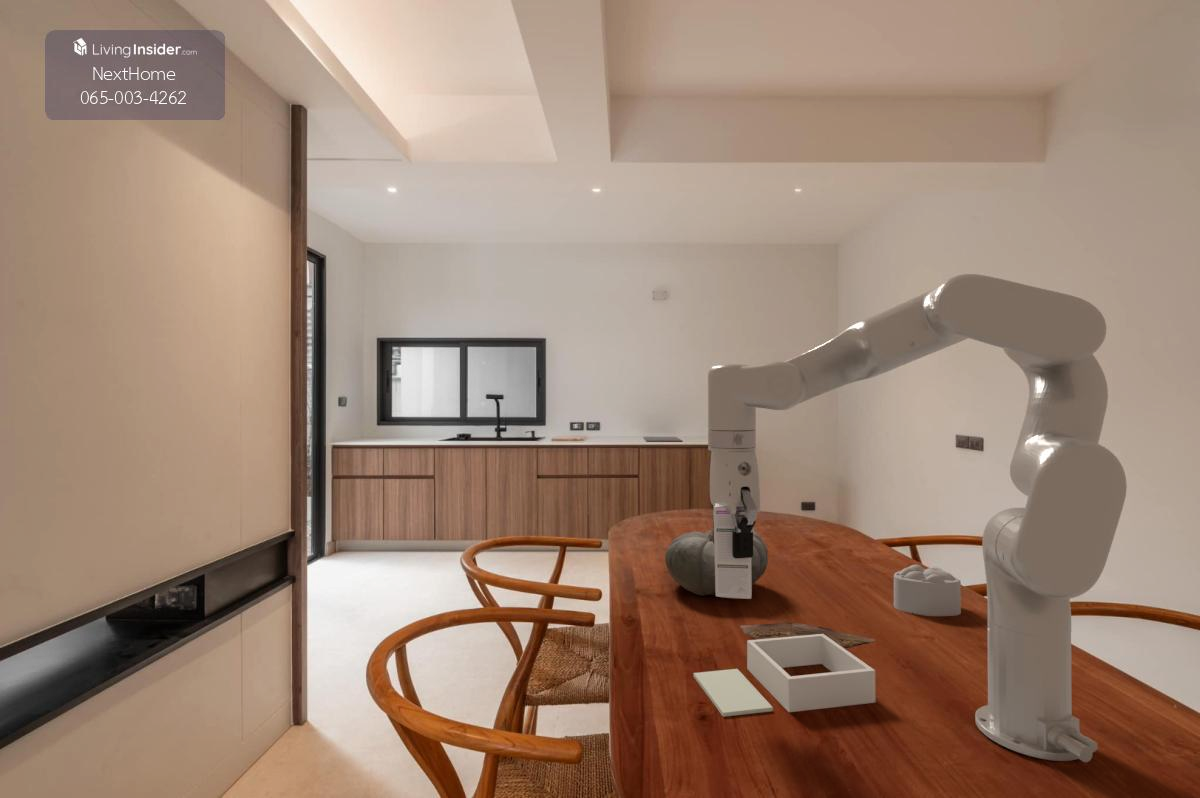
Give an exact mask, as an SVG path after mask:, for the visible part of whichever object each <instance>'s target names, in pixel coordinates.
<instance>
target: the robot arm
mask: <svg viewBox="0 0 1200 798" xmlns="http://www.w3.org/2000/svg"><path fill="white" fill-rule="evenodd" d="M1106 335H1107V323H1106V319H1105V317H1104V316H1103V313H1102V312H1101V311H1100V309H1099V308H1098V307H1096V306H1095V305H1093V303H1090V302H1089V301H1087V300H1085V299H1083V298H1080V297H1078V296H1074V295H1070V294H1067V293H1063V292H1058V291H1055V290H1050V289H1047V288H1041V287H1036V286H1032V285H1028V284H1023V283H1020V282H1015V281H1010V280H1007V279H1003V278H998V277H994V276H989V275H984V274H977V273H976V274H975V273H964V274H959V275H956V276H953V277H950V278H949V279H947V280H945V281H944V282H943V283H941V284H940V285H939V286H937V287H934V288H933V289H931V290H929V291H926V292H925V293H922V294H920V295H918V296H915V297H914V298H912V299H911V298H910V299H909V300H907V301H904V302H903V303H900V304H898V305H896V306H893V307H891V308H888V309H887V310H884V311H881V312H879V313H877V314H874V315H872V316H870V317H868V318H865V319H863V320H861V321H858V322H857V323H855V324H853V325H851V326H849V327H848V328H846V329H845V330H843V331H842V332H841V333H839V334H838V335H836V336H835V337H833V338H832V339H830V340H828V341H826V342H825V343H823V344H820V345H818V346H816V347H815V348H812V349H811V350H808V351H806V352H804V353H801V354H799V355H797V356H795V357H792V358H789V359H787V360H786V361H774V362H767V363H760V364H752V365H751V364H750V365H748V364H740V363H739V364H734V363H733V364H718V365H714V366H712V367H711V368H710V369H709V370H708V373H707V436H708V437H707V440H708V442H707V443H708V444H707V445H708V447H707V449H708V451H710V452H711V454H710V463H709V465H710V466H709V467H710V468H709V498H710V499H709V500H710V503H711V509H712V517H711V518H712V520H713V522H712V523H713V524H712V528H713V529H712V530H713V544H714V503H717V504H720V505H723V506H725V509H726V512H727V513H729V514H731V515H732V519H733V524H734V529H735V532H732V554H733V557H734V558H751V557H753V532H755V525H756V522H757V516H759V515H758V514H759V513H760V511H761V493H760V476H759V475H760V474H759V467H758V465H759V464H758V459H757V454H756V451H757V440H756V439H757V433H756V432H757V431H756V430H757V427H756V426H757V425H756V424H757V423H756V422H757V419H756V418H757V416H756V415H757V414H756V412H757V411H756V409H757V408H758V409H766V410H773V411H786V410H790V409H792V408H795V407H796V406H797V405H799V404H802V403H804V402H806V401H809V400H811V399H813V398H816V397H818V396H819V397H820V396H821V395H823V394H825V393H828V392H830V391H834V390H836V389H838V388H841V387H844V386H846V385H848V384H849V385H850V384H853V383H854V382H859V381H863V380H868V379H872V378H875V377H877V376H879V375H883V374H885V373H887V372H890V371H892V370H894V369H897V368H899V367H901V366H905V365H907V364H909V363H912V362H913V361H917V360H919V359H921V358H924V357H927V356H928V355H932V354H934V353H936V352H938V351H941V350H943V349H946V348H948V347H950V346H953V345H956V344H958V343H961V342H963V341H966V340H968V339H970V340H974V341H978V342H981V343H984V344H987V345H990V346H994V347H998V348H1001V349H1003V351H1004V353H1005V354H1006V356H1007V357H1008V358H1009V359H1010V360H1011V361H1013V362H1014V364H1016V365H1017V366H1018V367H1019V368H1020V369H1021V370H1022V372H1023V373H1024V376H1025V378H1026V380H1027V383H1028V389H1029V392H1028V394H1029V395H1028V401H1027V405H1026V411H1025V416H1024V419H1023V423H1022V426H1021V429H1020V433H1019V435H1018V439H1017V443H1016V447H1015V450H1014V452H1013V455H1012V458H1011V461H1010V466H1009V475H1010V479H1011V482H1012V483H1013V485H1014V486H1015V488H1016V489H1017V490H1018V491H1019V492H1020V493H1022V494H1023V495H1025V496H1026V497H1027V500H1026V504H1025V507H1011V508H1006V509H1004V510H1002V511H999V512H998V513H996V514H995V515H993V516H992V517H991V518H990V520H988V522H987V524H986V526H985V528H984V530H983V535H982V544H981V548H982V555H983V556H982V557H983V563H984V572H985V581H986V599H987V600H986V601H987V609H986V610H987V617H986V618H987V620H986V621H987V623H986V624H987V625H986V626H987V704H986V705H983V706H981V707H979V708H978V709H977V710H975V717H974V718H975V719H974V720H975V725H976V726H977V728H978V729H979V731H981V733H983V734H984V735H985V737H987V738H988V739H990V740H991V741H993V742H995V743H997V744H998V745H1000V746H1002V747H1005V748H1006V749H1009V750H1011V751H1013V752H1017V753H1019V754H1022V755H1025V756H1028V757H1032V758H1037V759H1042V760H1047V761H1053V762H1054V761H1056V762H1071V761H1074V760H1080V761H1081V762H1083V763H1088V762H1091V759H1092V758H1093V753H1095V752H1096V751H1097V750H1098V742H1096V741H1095V740H1093V739H1092V738H1089V737H1088V736H1087V735H1086V736H1085V735H1083V734H1082V733H1081V731H1080V718H1077V717H1076V716H1074V715H1072V713H1073V712H1072V711H1073V710H1072V707H1073V706H1072V611H1071V610H1072V609H1071V600H1070V599H1073V598H1078V597H1079V596H1082V595H1085V593H1087V592H1089V591H1090V590H1091V589H1092V588H1093V586H1094V585H1096V584H1097V582H1098V581H1099V579H1100V577H1101V575H1102V573H1103V571H1104V569H1105V566H1106V563H1107V560H1108V557H1109V554H1110V551H1111V547H1112V545H1113V541H1114V538H1115V535H1116V532H1117V528H1118V525H1119V521H1120V518H1121V515H1122V511H1123V508H1124V504H1125V502H1126V496H1127V487H1128V486H1127V477H1126V473H1125V470H1124V467H1123V465H1122V463H1121V461H1120V460H1119V458H1118V457H1117V456H1116V455H1115V454H1114V453H1113V452H1112V451H1111V450H1109V449H1108V448H1107V447H1105V446H1103V445H1101V444H1099V441H1100V439H1101V438H1100V437H1101V434H1102V430H1103V424H1104V420H1105V416H1106V412H1107V408H1108V397H1109V393H1108V392H1109V389H1108V384H1107V383H1108V381H1107V379H1106V376H1105V372H1104V371H1103V368H1102V367H1101V365H1100V363H1099V361H1098V360H1097V358H1096V357H1095V355H1094V354H1095V352H1097V351H1098V350H1099V349H1100V348H1101V346H1102V345H1103V343H1104V341H1105V339H1106ZM740 508H745V510H746V511H741V512H737V510H736V509H740ZM739 517H743V518H742V520H741V522H739Z"/></svg>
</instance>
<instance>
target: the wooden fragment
mask: <svg viewBox="0 0 1200 798" xmlns="http://www.w3.org/2000/svg"><path fill="white" fill-rule="evenodd" d="M739 629H740V630H741V631H742V632H743V633H744V634H745V635H747V636H748V637H750V638H751V639H753V640H758V639H770V638H781V637H792V636H803V635H815V634H824V635H826V636H827V637H828V638H830V639H831V640H833V641H834V642H836V643H837V644H838V645H840V646H841V647H843V648H844V649H846V648H851V647H854V646H857V645H858V646H859V645H861V644H866V643H867V644H871V643H875V642H876V641H877V639H874V638H868V637H864V636H862V635H856V634H852V633H847V632H842V631H837V630H834V629H831V628H826V627H821V626H818V625H817V626H816V625H810V624H804V623H800V622H799V623H798V622H788V621H787V622H775V623H765V624H764V623H763V624H755V625H754V624H751V625H740V626H739Z"/></svg>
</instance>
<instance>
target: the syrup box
mask: <svg viewBox="0 0 1200 798" xmlns="http://www.w3.org/2000/svg"><path fill="white" fill-rule="evenodd" d="M736 510H737V512H741V511H746V510H745V508H740V509H736ZM742 518H743V517H739V522H741V520H742ZM732 532H735V529H734V524H733V519H732V515H731V514H729V513H727V512H726V509H725V506H723V505H720V504H717V503H714V557H715V594H714V596H715V597H719V598H727V599H745V600H746V599H747V600H749V599H750V600H751V599H752V596H753V595H752V592H753V591H752V589H753V587H752V586H753V585H752V576H751V558H734V557H733V554H732Z"/></svg>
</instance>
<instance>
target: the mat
mask: <svg viewBox="0 0 1200 798" xmlns="http://www.w3.org/2000/svg"><path fill="white" fill-rule="evenodd" d="M692 674H693V678H694V679H695V680H696V682H697V683H698V685H699V686H700V688H701V689H702V691H703V692H704V693H705V695H707V697H708V698H709V699H710V701H711V702H712V704H713V705H714V706H715V708H716V709H717V710H718V712H719V713H720V715H721V716H722V717H724V718H725V717H732V716H734V717H735V716H742V715H750V714H759V713H760V714H761V713H769V712H770V713H771V712H773V711H774V707H773V706H772V705H771V704H770V702H769V701H767V699H766V698H765V697H764V696H763V695H762V694H761V693H760V692H759V690H758V689H757V688H756V687H755V686H754V685H753V683H751V682H750V681H749V680H748V679H747V677H746V676H745V675H744V674H743V673H742V672H741V671H740V670H739V669H738V668H731V669H723V670H722V669H720V670H710V671H701V672H693V673H692Z"/></svg>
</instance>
